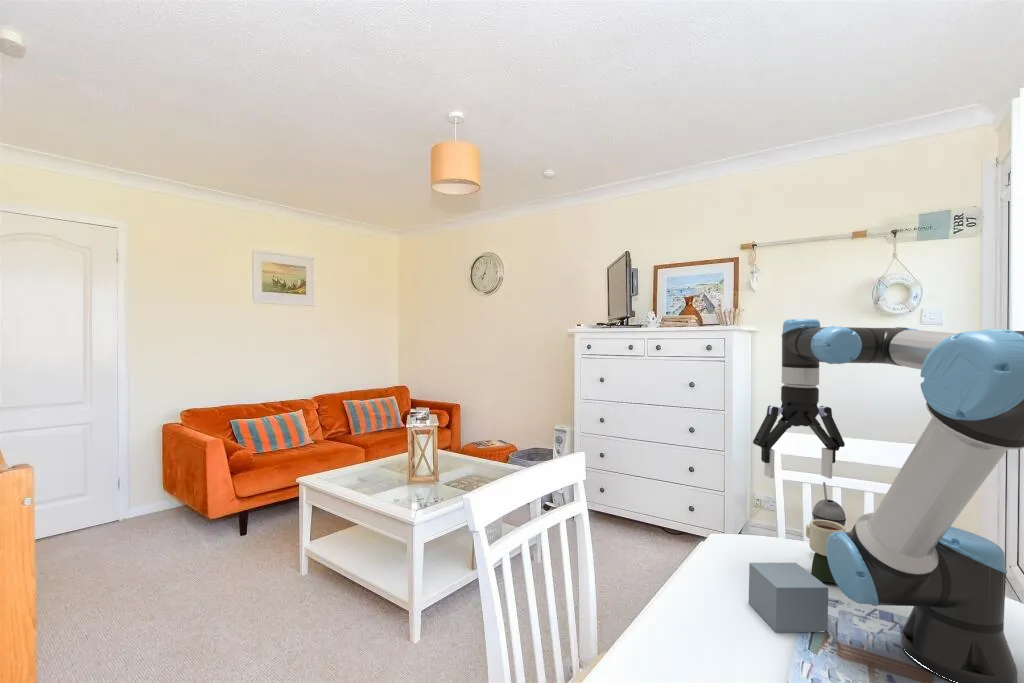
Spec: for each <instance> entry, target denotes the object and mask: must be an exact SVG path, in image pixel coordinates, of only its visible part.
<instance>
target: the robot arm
mask: <svg viewBox="0 0 1024 683" xmlns="http://www.w3.org/2000/svg"><path fill="white" fill-rule="evenodd" d="M820 363H826V364H829V365H835V364H836V365H843V364H883V365H884V364H886V365H893V366H898V367H906V368H909V369H916V370H920V378H923V381H922V382H920V383H919V384H920V389H921V392H922V395H923V397H924V400H925V407H926V409H927V411H928V413H929V415H930V416H931V419H930V420H929V422H928V423H927V425H926V427H925V428H924V430H923V432H922V434H921V435H920V437H919V439H918V440H917V442H916V443H915V445H914V446H913V449H912V450H911V451H910V453H909V455H908V456H907V458H906V460H905V461H904V463H903V465H902V466H901V468H900V470H899V471H898V473H897V475H896V477H895V478H894V480H893V481H892V483H891V486H890V487H889V488H888V490H887V492H886V493H885V495H884V497H883V499H882V500H881V502H880V504H879V505H878V507H877V509H876V510H875V512H869V513H865V514H862V515H861V516H860V517H859V518H858V519H857V520H856V522H855V524H854V526H853V527H852V529H851V530H850V531H847V532H846V531H845V532H843V531H839V532H834V533H832V534H831V535H830V536H829V537H828V540H827V544H826V553H827V559H828V564H829V567H830V570H831V573H832V575H833V578H834V580H835V582H836V583H835V584H836V585H837V587H838V588H839V590H840V591H841V593H842V594H844V596H845V597H847V598H848V599H849V600H851V601H853V602H854V603H857V604H860V605H861V604H862V605H870V606H872V607H877V606H898V607H905V606H906V607H912V609H911V612H910V613H909V616H908V617H907V620H906V621H905V624H904V625H903V628H902V630H901V634H900V635H901V636H900V638H901V639H900V644H901V643H902V646H903V648H904V649H905V651H906V652H907V653H908V654H909V655H910V656H912V657H913V658H914V659H916V660H917V661H918V662H920V663H921V664H922V665H924V666H926V667H927V668H929V669H930V670H932V671H933V672H935V673H937V674H938V675H940V676H943V677H945V678H947V679H950V680H952V681H955V682H958V683H1018V668H1017V664H1016V662H1015V659H1014V657H1013V654H1012V652H1011V650H1010V646H1009V643H1008V641H1007V638H1006V636H1005V632H1004V631H1005V630H1004V629H1005V628H1004V625H1005V622H1004V621H1005V602H1006V600H1005V599H1006V578H1007V575H1006V574H1007V573H1008V570H1007V569H1006V560H1005V559H1006V558H1005V556H1006V554H1005V552H1004V550H1003V549H1002V548H1001V547H1000V545H998V544H997V543H996V542H993V541H992V540H990V539H988V538H986V537H984V536H982V535H978V534H976V533H975V532H974V533H973V532H970V531H967V530H964V529H961V528H957V527H955V526H952V525H953V523H954V522H955V520H956V519H958V517H959V516H960V514H961V513H962V511H963V510H964V509H965V507H966V506H967V505H968V503H969V502H971V500H972V498H973V497H974V496H975V494H976V493H977V491H978V490H979V489H980V487H981V486H982V485H983V483H984V482H985V481H986V479H987V478H988V476H989V475H990V474H991V473H992V471H993V470H994V468H996V466H997V464H998V463H999V462H1000V461H1001V459H1002V458H1003V457H1004V455H1005V453H1006V452H1007V451H1008V450H1022V449H1024V330H1011V329H1005V328H1003V329H1002V328H991V329H990V328H988V329H981V330H971V331H964V332H958V333H954V332H943V331H933V330H919V329H917V328H914V327H913V328H909V327H903V326H901V327H899V326H898V327H854V326H853V327H851V326H850V327H849V326H848V327H845V326H833V325H832V326H825V327H823V326H822V327H821V322H820V320H818V319H815V318H794V319H792V318H789V319H786V320H785V321H784V322H783V323H782V333H781V383H782V384H784V385H781V387H780V389H781V390H780V401H781V405H780V407H779V406H774V405H770V404H769V405H768V406H767V409H766V415H765V417H764V419H763V421H762V423H761V425H760V426H759V429H758V431H757V432H756V435H755V437H754V439H753V441H752V444H753V445H756V446H758V447H760V449H761V454H760V455H761V462H763V463H764V464H763V465H764V476H765V477H767V478H769V479H775V451H776V450H775V449H772V448H773V446H774V445H775V444H777V442H778V441H779V440H780V439H781V437H782V436H783V435H784V434H785V433H786V432H787V431H788V429H790V428H792V427H801V426H802V427H809V428H810V430H811V431H813V433H814V434H815V435H816V436H817V437H818V439H819V441H821V443H822V444H823V445H824V446H825V447H821V462H820V463H821V464H820V465H821V466H820V470H821V471H820V475H821V476H823V477H824V478H826V479H833V464H835V463H836V453H837V452H838V451H839V450H840V448H844V447H845V445H846V443H845V440H844V439H843V437H842V435H841V432H840V431H839V428H838V426H837V424H836V422H835V420H834V418H833V411H832V408H831V407H830V406H824V405H820V406H819V407H818V403H819V401H820V396H819V394H820V390H819V388H818V387H817V386H819V385H820ZM780 415H781V418H779V420H778V417H779V416H780ZM818 415H819V416H820V418H821V421H822V423H823V425H824V427H825V430H826V431H825V430H824V428H823V427H822V424H821V423H820V421H818V419H817V416H818ZM777 420H778V421H777ZM776 422H777V424H776V425H775V423H776ZM902 646H901V647H902ZM940 676H939V677H940Z"/></svg>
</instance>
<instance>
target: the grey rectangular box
mask: <svg viewBox="0 0 1024 683" xmlns="http://www.w3.org/2000/svg"><path fill="white" fill-rule="evenodd" d="M748 564H749V566H748V567H749V569H748V604H749V606H751V608H752V609H753V610H754V611H755V612H756V613H757V614H758V616H759V617H761V619H762V620H763V621H764V622H765V624H767V625H768V626H769V627H770V628H771V630H772V631H773V632H774V633H775V634H779V633H780V634H782V633H783V634H784V633H785V634H786V633H790V634H792V633H795V634H798V633H800V634H801V632H817V633H820V632H819V631H827V632H828V626H829V625H828V622H829V620H828V619H829V587H828V585H826V584H824V583H823V581H820V580H818V579H817V578H815V577H814V576H813V575H812V574H811V572H809V571H808V570H807V569H805V568H804V567H802V566H801V565H800V564H799V563H797V562H748Z"/></svg>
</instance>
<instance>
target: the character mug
mask: <svg viewBox="0 0 1024 683" xmlns="http://www.w3.org/2000/svg"><path fill="white" fill-rule="evenodd" d="M839 531H843V532H846V527H845V525H844V526H843V525H841V524H839V523H836V522H832V521H827V520H814V519H812V520H810V522H809V524H806V527H805V536H806V538H807V539H809V548H810V549H811V551H813V552H814V554H813V556H812V557H813V558H812V562H811V568H810V574H812V575H813V576H814V577H815V578H817V579H818V580H819V581H821V582H824V583H835V584H836V582H835V580H834V578H833V575H832V573H831V570H830V567H829V564H828V559H827V553H826V544H827V540H828V537H829V536H830V535H831V534H832V533H834V532H839Z"/></svg>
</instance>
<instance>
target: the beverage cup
mask: <svg viewBox="0 0 1024 683" xmlns="http://www.w3.org/2000/svg"><path fill="white" fill-rule="evenodd" d="M822 485H823V487H822V488H823V494H824V499H822V500H819V501H818V502H817V503H816V504H814V507H813V511H812V517H813V520H827V521H832V522H836V523H839V524H841V525H843V526H844V527H845V525H846V521H847V517H846V514H845V510H844V509H843V507H842V506H841V505H840V504H839V503H838V502H836V501H835V500H832V499H828V493H827V487H826V486H827V485H826V482H825V481H824V482H823V481H822Z"/></svg>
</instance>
